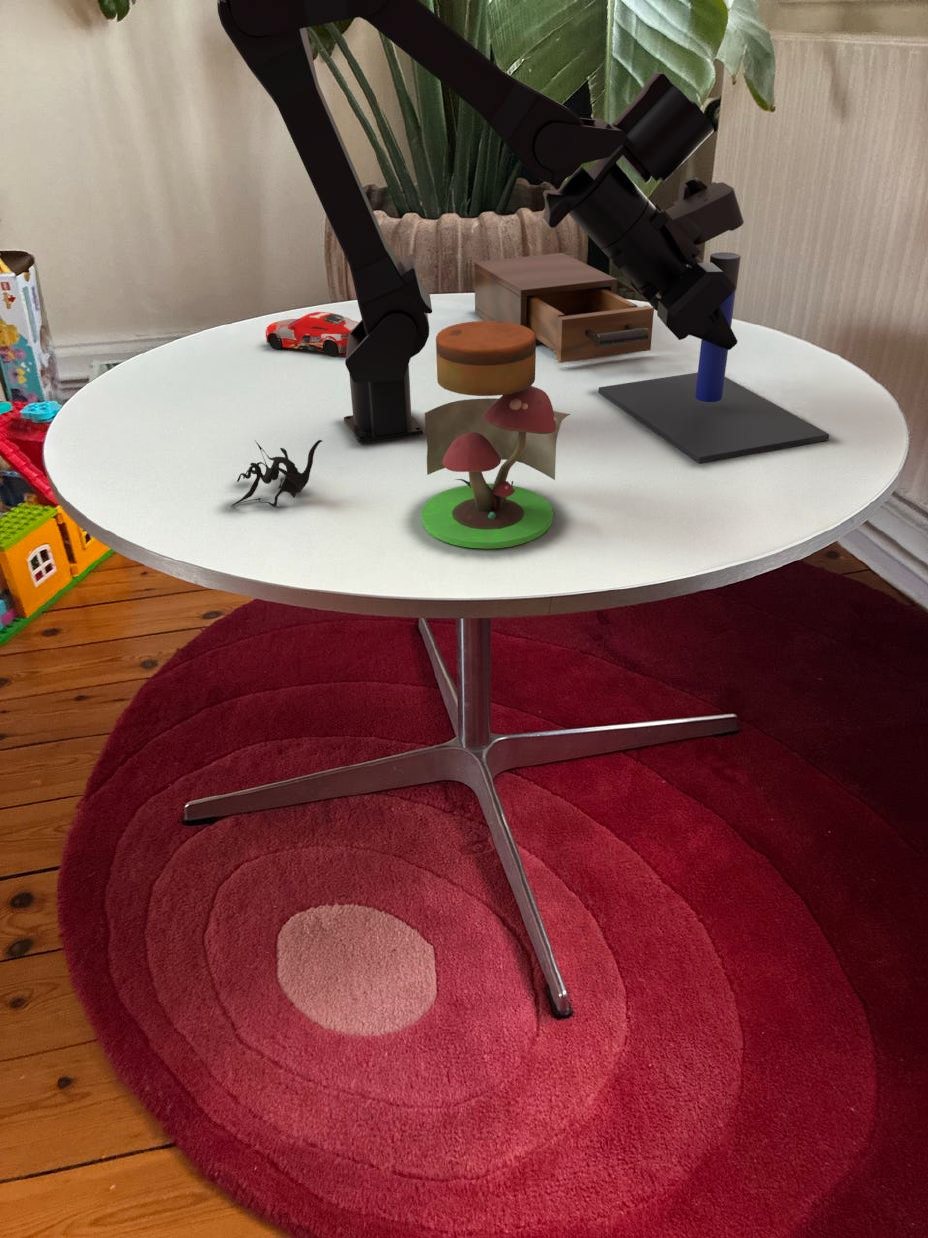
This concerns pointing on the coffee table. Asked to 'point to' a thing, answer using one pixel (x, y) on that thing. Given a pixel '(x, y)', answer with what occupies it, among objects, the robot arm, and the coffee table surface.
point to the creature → (292, 477)
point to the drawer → (589, 324)
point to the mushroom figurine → (489, 436)
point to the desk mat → (711, 418)
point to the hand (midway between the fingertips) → (728, 341)
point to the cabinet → (530, 283)
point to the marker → (711, 354)
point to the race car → (312, 333)
